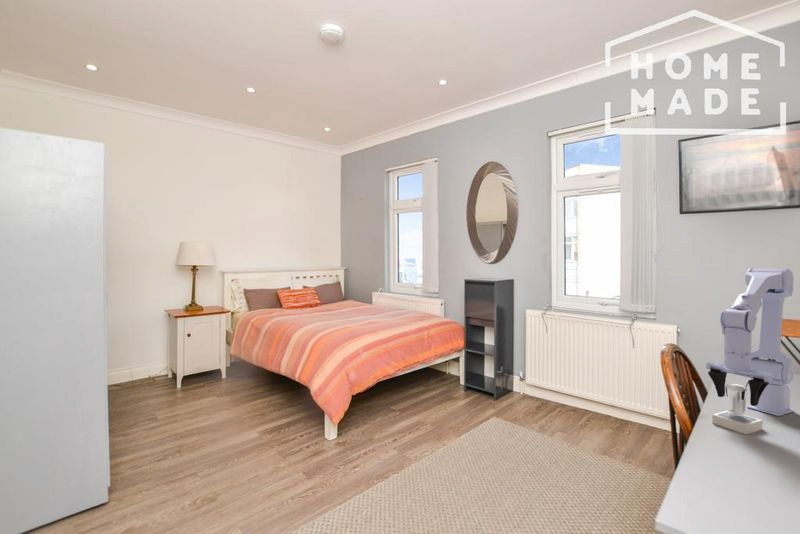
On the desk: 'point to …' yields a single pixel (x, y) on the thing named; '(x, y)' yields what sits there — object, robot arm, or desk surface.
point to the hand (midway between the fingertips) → (737, 400)
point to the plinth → (737, 422)
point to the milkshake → (736, 400)
